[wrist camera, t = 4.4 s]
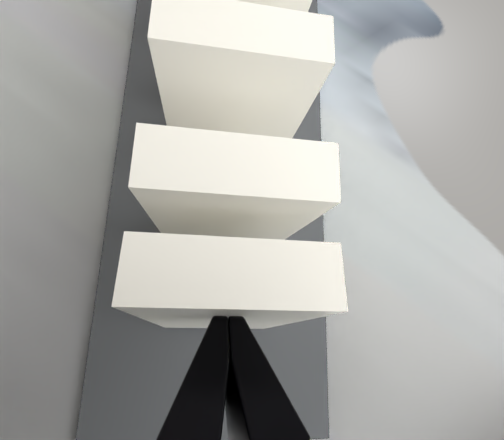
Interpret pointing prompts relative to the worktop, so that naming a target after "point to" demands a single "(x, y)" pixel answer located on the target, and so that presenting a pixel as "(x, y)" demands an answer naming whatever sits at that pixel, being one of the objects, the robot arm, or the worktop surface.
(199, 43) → the domino
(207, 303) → the domino
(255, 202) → the domino
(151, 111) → the mat
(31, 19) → the worktop surface
